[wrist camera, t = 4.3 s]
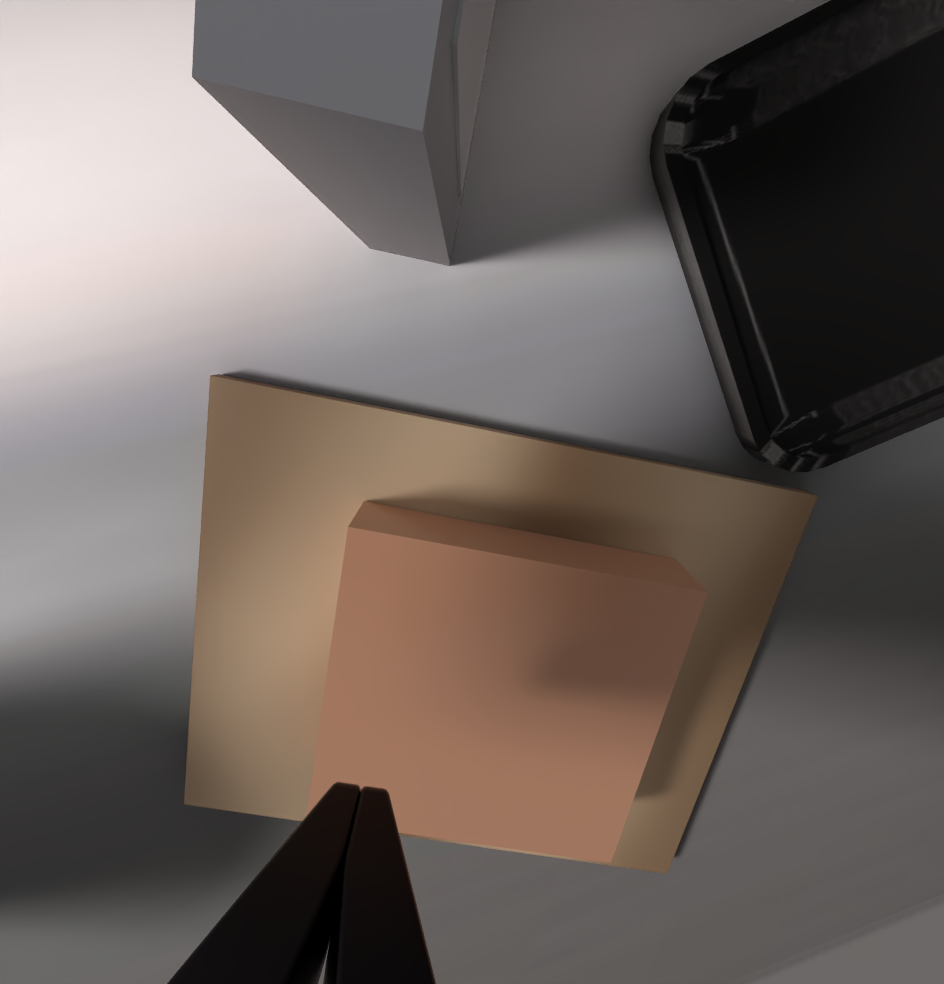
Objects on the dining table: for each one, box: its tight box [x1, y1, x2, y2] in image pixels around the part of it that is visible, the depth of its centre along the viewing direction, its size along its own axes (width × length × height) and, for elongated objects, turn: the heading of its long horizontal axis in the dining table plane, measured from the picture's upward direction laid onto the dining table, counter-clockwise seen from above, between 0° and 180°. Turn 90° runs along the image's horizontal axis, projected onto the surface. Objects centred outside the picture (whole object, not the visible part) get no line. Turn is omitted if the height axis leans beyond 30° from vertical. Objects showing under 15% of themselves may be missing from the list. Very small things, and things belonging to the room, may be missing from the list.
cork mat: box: [184, 374, 818, 874], centre depth 13 cm, size 13×11×1 cm
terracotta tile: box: [306, 501, 708, 863], centre depth 12 cm, size 2×7×7 cm
